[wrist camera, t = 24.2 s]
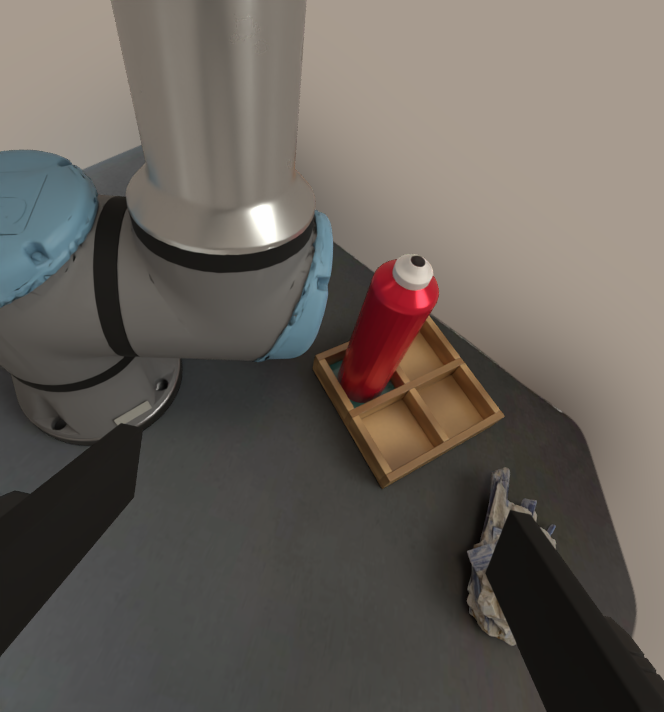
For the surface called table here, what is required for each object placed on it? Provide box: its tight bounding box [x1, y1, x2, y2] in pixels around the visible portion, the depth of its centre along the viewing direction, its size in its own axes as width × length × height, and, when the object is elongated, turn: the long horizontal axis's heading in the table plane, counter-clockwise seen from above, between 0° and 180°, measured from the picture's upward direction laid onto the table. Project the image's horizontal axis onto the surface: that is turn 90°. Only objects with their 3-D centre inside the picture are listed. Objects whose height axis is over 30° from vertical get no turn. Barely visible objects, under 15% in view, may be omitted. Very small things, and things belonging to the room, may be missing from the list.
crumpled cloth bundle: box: [467, 467, 556, 646], centre depth 39 cm, size 15×8×4 cm, turn 148°
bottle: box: [337, 254, 439, 403], centre depth 39 cm, size 5×5×20 cm
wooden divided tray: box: [312, 316, 504, 489], centre depth 47 cm, size 15×15×3 cm
